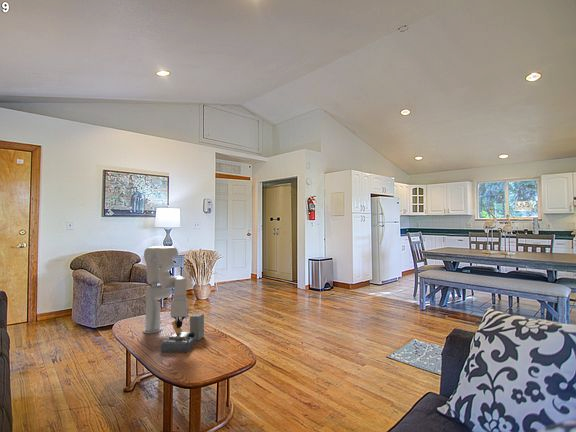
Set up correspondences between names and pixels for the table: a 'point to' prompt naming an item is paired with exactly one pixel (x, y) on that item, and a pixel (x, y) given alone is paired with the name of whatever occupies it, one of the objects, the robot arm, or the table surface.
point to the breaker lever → (177, 330)
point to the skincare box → (197, 325)
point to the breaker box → (179, 342)
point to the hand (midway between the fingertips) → (179, 327)
